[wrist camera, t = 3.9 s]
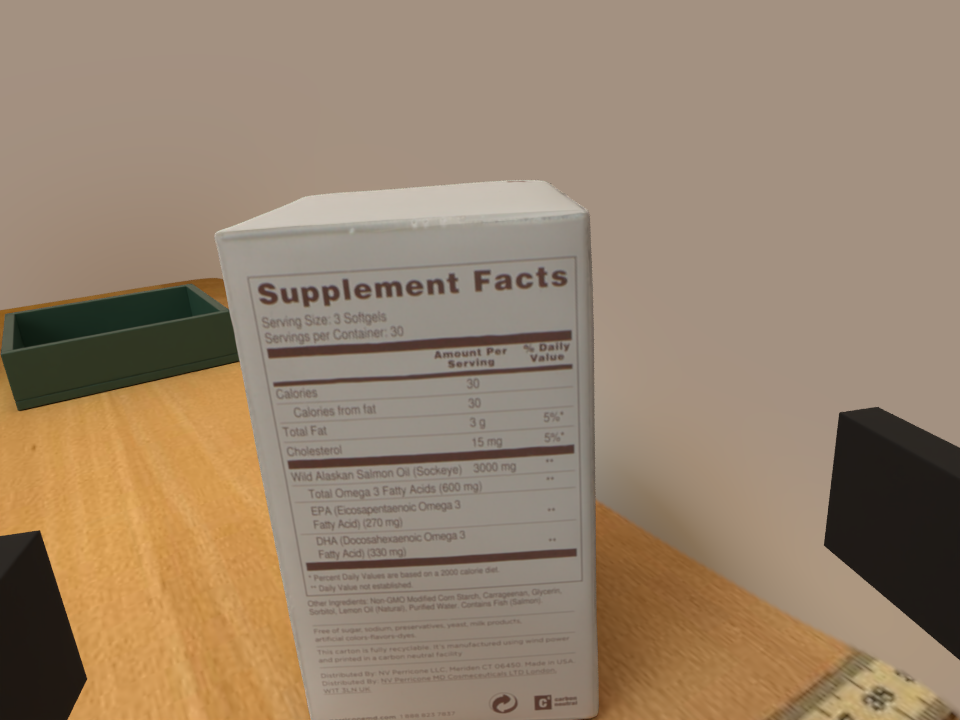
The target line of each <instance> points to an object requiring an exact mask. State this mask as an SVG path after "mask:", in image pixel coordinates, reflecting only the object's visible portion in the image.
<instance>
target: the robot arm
mask: <svg viewBox="0 0 960 720" xmlns="http://www.w3.org/2000/svg"><path fill="white" fill-rule="evenodd" d="M824 546H825V547H826V548H828V549H829V550H830V551H831V552H832V553H833V554H835V555H836V556H837V557H838V558H839V559H841V560H842V561H843V562H844V563H845V564H846V565H848V566H849V567H850V568H851V569H853V570H854V571H855V572H856V573H857V574H858V575H860V576H861V577H862V578H863V579H864V580H866V581H867V582H868V583H869V584H870V585H871V586H873V587H874V588H875V589H876V590H877V591H879V592H880V593H881V594H882V595H883V596H884V597H886V598H887V599H888V600H889V601H890V602H892V603H893V604H894V605H895V606H896V607H898V608H899V609H900V610H901V611H902V612H903V613H905V614H906V615H907V616H908V617H909V618H910V619H912V620H913V621H914V622H915V623H916V624H918V625H919V626H920V627H921V628H922V629H924V630H925V631H926V632H927V633H928V634H930V635H931V636H932V637H933V638H934V639H935V640H937V641H938V642H939V643H940V644H941V645H942V646H944V647H945V648H946V649H947V650H948V651H950V652H951V653H952V654H953V655H954V656H956V657H957V658H958V659H959V660H960V448H959V447H957V446H955V445H953V444H951V443H949V442H947V441H945V440H943V439H941V438H939V437H937V436H935V435H933V434H931V433H929V432H927V431H925V430H923V429H921V428H919V427H916V426H915V425H913V424H911V423H909V422H907V421H905V420H903V419H901V418H899V417H897V416H895V415H893V414H891V413H889V412H887V411H884V410H883V409H880V408H879V407H874V408H868V409H860V410H854V411H847V412H840V413H839V420H838V428H837V437H836V446H835V456H834V464H833V472H832V480H831V489H830V498H829V506H828V515H827V524H826V532H825V541H824ZM86 680H87V677H86V674H85V671H84V667H83V664H82V661H81V658H80V655H79V652H78V649H77V645H76V642H75V639H74V636H73V633H72V630H71V627H70V623H69V620H68V617H67V614H66V611H65V608H64V605H63V601H62V598H61V595H60V592H59V589H58V586H57V583H56V579H55V576H54V573H53V570H52V567H51V564H50V561H49V557H48V554H47V551H46V548H45V545H44V542H43V539H42V536H41V532H40V530H39V531H32V532H26V533H19V534H12V535H5V536H0V720H67V719H68V717H69V715H70V713H71V711H72V709H73V707H74V705H75V703H76V701H77V699H78V697H79V695H80V693H81V691H82V689H83V686H84V684H85V682H86Z"/></svg>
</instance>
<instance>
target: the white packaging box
mask: <svg viewBox="0 0 960 720" xmlns="http://www.w3.org/2000/svg"><path fill="white" fill-rule="evenodd" d="M215 241H216V245H217V249H218V254H219V259H220V264H221V269H222V274H223V279H224V284H225V289H226V294H227V300H228V306H229V312H230V317H231V321H232V325H233V329H234V334H235V340H236V346H237V351H238V356H239V360H240V365H241V370H242V374H243V379H244V385H245V391H246V396H247V402H248V407H249V412H250V417H251V423H252V428H253V433H254V439H255V444H256V449H257V454H258V460H259V465H260V470H261V475H262V480H263V485H264V490H265V495H266V500H267V505H268V510H269V515H270V520H271V526H272V531H273V536H274V541H275V546H276V550H277V555H278V560H279V566H280V571H281V576H282V581H283V585H284V590H285V595H286V600H287V605H288V611H289V616H290V621H291V626H292V631H293V635H294V640H295V645H296V650H297V655H298V660H299V665H300V669H301V674H302V678H303V683H304V687H305V693H306V698H307V704H308V709H309V713H310V718H311V720H577V719H589V718H592V717H595V716H596V715H597V714H598V710H599V690H598V643H597V619H596V515H595V441H594V440H595V436H594V435H595V434H594V327H593V326H594V325H593V324H594V323H593V285H592V258H591V235H590V216H589V211H588V210H587V209H585V208H584V207H583V206H581V205H579V204H578V203H576V202H575V201H574V200H572V199H571V198H569V197H568V196H567V195H566V194H565V193H562V192H561V191H559V190H558V189H557V188H555V187H554V186H553V185H552V184H551V183H549V182H546V181H541V180H507V181H493V182H479V183H465V184H453V185H441V186H429V187H428V186H427V187H414V188H403V189H388V190H375V191H360V192H344V193H331V194H322V195H313V196H306V197H303V198H301V199H299V200H296V201H294V202H292V203H290V204H288V205H285V206H283V207H280V208H278V209H275V210H272V211H270V212H267V213H265V214H263V215H260V216H257V217H255V218H252V219H250V220H247V221H245V222H242V223H239V224H237V225H234V226H232V227H229V228H226V229H223V230H220V231H217V232H216V234H215Z"/></svg>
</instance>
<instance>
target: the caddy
mask: <svg viewBox="0 0 960 720" xmlns="http://www.w3.org/2000/svg"><path fill="white" fill-rule="evenodd" d="M1 358H2V361H3V364H4V367H5V370H6V374H7V377H8V380H9V383H10V386H11V390H12V393H13V396H14V399H15V401H16V406H17V409H18V410H24V409H28V408H33V407H37V406H42V405H46V404H51V403H55V402H59V401H64V400H68V399H73V398H77V397H82V396H86V395H90V394H95V393H99V392H104V391H108V390H113V389H117V388H121V387H126V386H130V385H135V384H139V383H144V382H148V381H152V380H157V379H161V378H166V377H170V376H175V375H179V374H183V373H188V372H192V371H197V370H201V369H206V368H210V367H214V366H219V365H223V364H228V363H232V362H237V361H240V360H239V356H238V351H237V346H236V340H235V334H234V329H233V325H232V321H231V317H230V312H229V309H227V308H226V307H224V306H223V305H222V304H220V303H219V302H217V301H216V300H214V299H213V298H211V297H210V296H209V295H207V294H206V293H204V292H203V291H201V290H200V289H199V288H197V287H196V286H194V285H193V284H187V285H181V286H175V287H169V288H162V289H156V290H150V291H144V292H138V293H132V294H126V295H119V296H113V297H107V298H101V299H95V300H89V301H83V302H76V303H70V304H64V305H58V306H52V307H46V308H39V309H33V310H27V311H21V312H15V313H9V314H5V321H4V331H3V340H2V349H1Z"/></svg>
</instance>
